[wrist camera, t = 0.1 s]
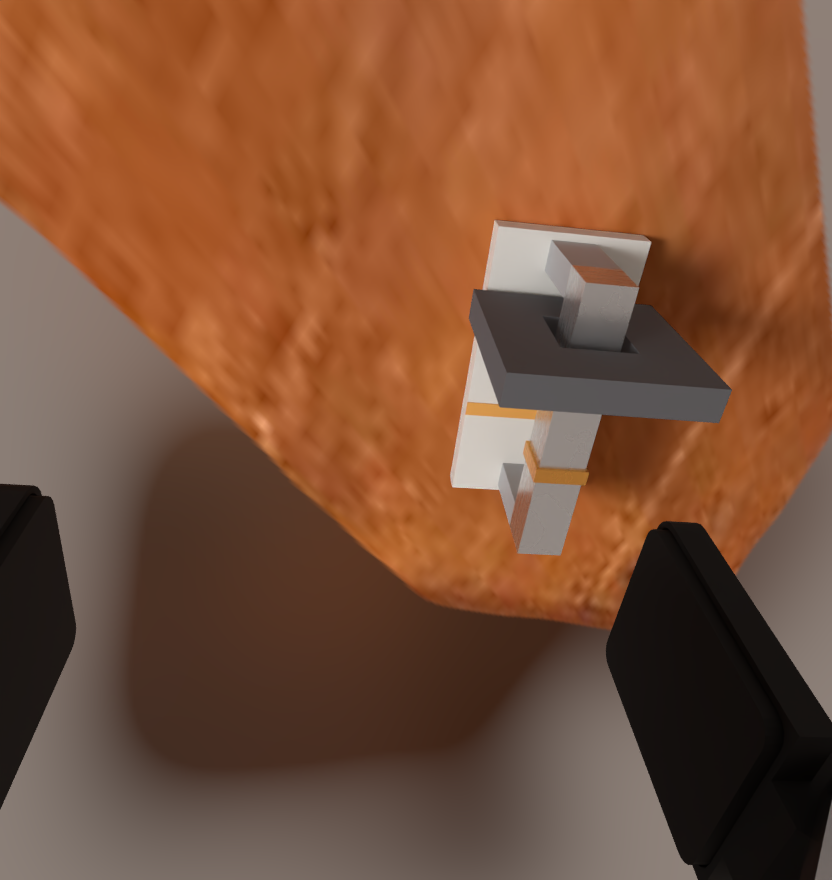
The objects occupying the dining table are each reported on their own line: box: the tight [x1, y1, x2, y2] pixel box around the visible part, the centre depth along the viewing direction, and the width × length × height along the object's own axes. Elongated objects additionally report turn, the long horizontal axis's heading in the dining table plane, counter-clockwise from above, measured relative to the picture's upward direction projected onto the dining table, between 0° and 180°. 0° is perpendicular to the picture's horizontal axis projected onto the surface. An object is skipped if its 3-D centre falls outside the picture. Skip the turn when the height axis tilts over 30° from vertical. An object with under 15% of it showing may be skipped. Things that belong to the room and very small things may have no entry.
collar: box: [469, 289, 732, 423], centre depth 41 cm, size 2×12×12 cm, turn 83°
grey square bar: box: [510, 265, 639, 555], centre depth 44 cm, size 19×3×3 cm, turn 173°
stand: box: [450, 220, 651, 525], centre depth 48 cm, size 20×10×6 cm, turn 173°
